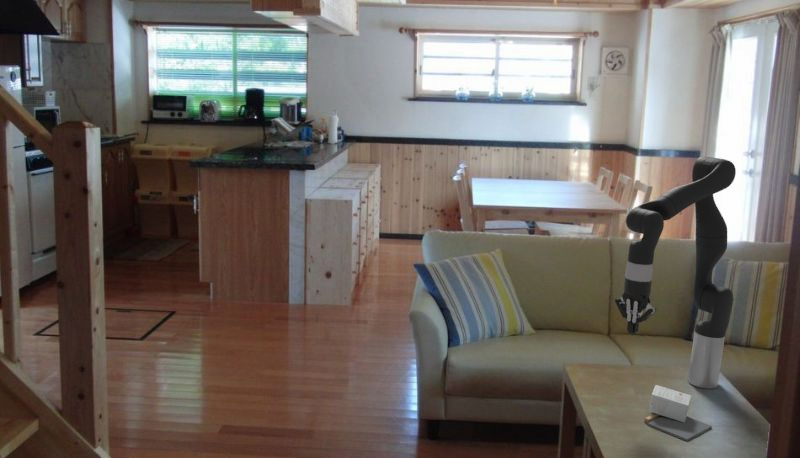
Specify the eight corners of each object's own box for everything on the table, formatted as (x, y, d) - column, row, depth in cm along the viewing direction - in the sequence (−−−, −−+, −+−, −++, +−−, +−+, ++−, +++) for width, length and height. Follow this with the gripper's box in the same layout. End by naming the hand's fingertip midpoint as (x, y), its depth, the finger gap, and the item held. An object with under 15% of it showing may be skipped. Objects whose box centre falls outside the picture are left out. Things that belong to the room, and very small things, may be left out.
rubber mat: (672, 412, 227) (673, 410, 226) (711, 427, 218) (711, 426, 218) (647, 424, 217) (647, 422, 217) (686, 441, 209) (687, 439, 209)
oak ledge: (666, 411, 227) (666, 407, 227) (669, 413, 226) (670, 409, 226) (644, 421, 219) (644, 418, 219) (648, 423, 218) (648, 419, 218)
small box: (647, 411, 223) (684, 423, 219) (651, 393, 221) (689, 405, 217) (651, 401, 230) (687, 412, 226) (655, 384, 228) (692, 395, 224)
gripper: (666, 280, 220) (659, 337, 224) (625, 270, 230) (619, 325, 234) (652, 284, 216) (645, 342, 219) (611, 273, 225) (605, 329, 229)
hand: (632, 333), depth 226 cm, fingers closed
